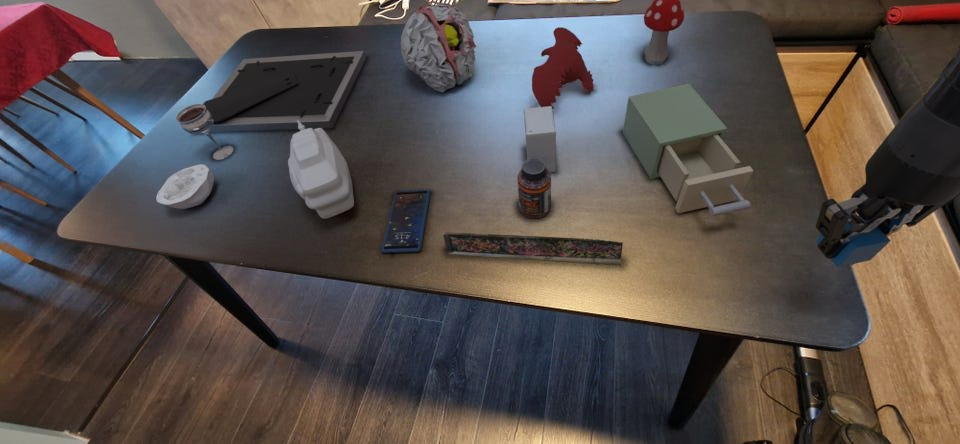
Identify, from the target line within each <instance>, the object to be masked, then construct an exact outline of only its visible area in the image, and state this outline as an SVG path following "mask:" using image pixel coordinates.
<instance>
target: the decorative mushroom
mask: <svg viewBox="0 0 960 444" xmlns="http://www.w3.org/2000/svg"><path fill="white" fill-rule="evenodd" d="M684 20H685V11H684V8H683V7H682V4H681V1H680V0H653V2H652V3H651V5H650V6H648V8H647V9H646V11H645V12H644V15H643V24H644V25H645V26H646V27H647V28H648V29H650V30H652V33H651V37H650V40H649V43H648V45H647V47H646V48H645V50H644V60H645V62H647V64H649V65H653V66H658V65H662V64H663V63H664V62H665V61H666V59H667V57H668V55H669V49H668V42H669V41H668V39H669V33H670V32H671V31H674V30H675V31H676V29H678V28H680V26H682V24H683V22H684Z"/></svg>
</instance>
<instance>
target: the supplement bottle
mask: <svg viewBox="0 0 960 444" xmlns="http://www.w3.org/2000/svg"><path fill="white" fill-rule="evenodd" d="M516 179H517V193H518V194H517V195H518V206H519V210H520V212H521V213H522V215H524V216H525V217H526V218H530V219H540V218H544V217H545V216H547V214H548V213H550V211H551V209H552V174H551V172H549V170H548V169H547V168H546V165H545V162H544V161H543V160H541V159H539V158H529V159H525V160H524V161H523V163H522V165H521V169H520V170H519V171H518V173H517V178H516Z"/></svg>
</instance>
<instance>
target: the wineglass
mask: <svg viewBox="0 0 960 444" xmlns="http://www.w3.org/2000/svg"><path fill="white" fill-rule="evenodd" d="M175 121H176V122H178V123H179V124H180V126H181V128H182V129H183V131H185V132H187V133H188V134H190V135H197V136H199V135H206V137H208V138H209V140H210V141H211V142H212V143H213V144H214V145H215V146H216V148H217V149H216V150H215V151H214V152H213V155H212V158H213V159H214V160H217V161H221V160H224V159H226V158H228V157H230V155H231V154H232V153H233V152H234V147H233V146H232V145H223V146H221V147H220V144H218V143H217V141H216V140H215V139H214V137H213V136H212V134H211V133H209V132H210V129H211V128H212V127H213V123H214V119H213V116H212V114H211V113H210V112H209V111H208V110H206V107H205V105H203V103H195V104H191V105H188V106H187V107H184V108H182V109H181V110H180V111H179V112H178V113H177V114H176V116H175Z"/></svg>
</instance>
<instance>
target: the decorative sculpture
mask: <svg viewBox="0 0 960 444" xmlns="http://www.w3.org/2000/svg"><path fill="white" fill-rule="evenodd" d="M430 4H431V5H430ZM400 38H401V39H400V45H399V47H400V52H401V56H402V58H403V62H404V64H405V65H406V67H407V68H408V70H410V71H412V72H413V73H415V74H416V75H417V76H418V77H420V79H422V80H423V81H424V82H425V83H426V85H427V86H429V87H430V88H432V89H433V90H434V91H437V92H440V93H445V91H446V90H448V89H452V88H455V86H456V85H458V86H461V84H463V83H464V82H465V81H468V80H470V79H471V78H472V75H473V73H474V70H475V69H474V68H475V61H476V51H475V48H477V45H476V43H475V41H474V38H475V36H474V32H473V29H472V28H471V26H470V22H469V20H468V17H467V16H466V15H465V14H464V13H463V12H462V11H461V10H460V9H459V8H457V7H456V6H453V5H452V4H450V3H448V2H440V1H439V2H438V1H436V0H430V1H428V2H426V3H425V4H423V5H421V6H420V7H419V8H418V9H416V11H414V12H413V14H411V16H409V18H408V19H407V21H406V23H405V25H404V28H403V30H402V33H401V36H400ZM423 81H420V83H422V84H424V82H423Z"/></svg>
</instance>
